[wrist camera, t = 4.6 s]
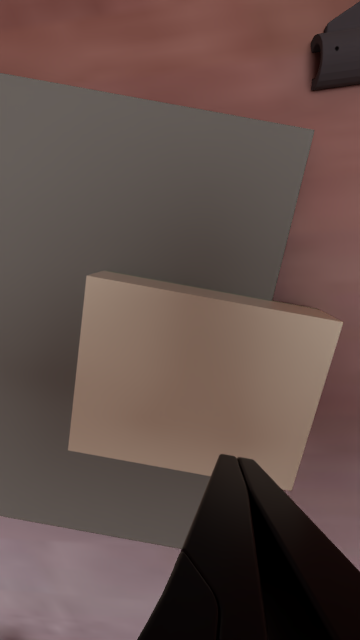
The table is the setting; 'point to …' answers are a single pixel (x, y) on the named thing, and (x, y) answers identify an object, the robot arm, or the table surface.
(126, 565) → the table surface
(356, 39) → the bracket
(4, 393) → the mat
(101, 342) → the tile
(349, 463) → the table surface
